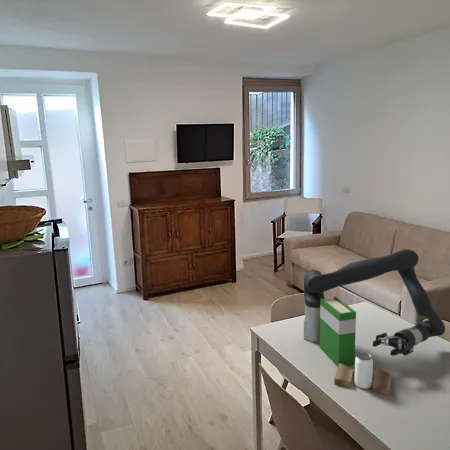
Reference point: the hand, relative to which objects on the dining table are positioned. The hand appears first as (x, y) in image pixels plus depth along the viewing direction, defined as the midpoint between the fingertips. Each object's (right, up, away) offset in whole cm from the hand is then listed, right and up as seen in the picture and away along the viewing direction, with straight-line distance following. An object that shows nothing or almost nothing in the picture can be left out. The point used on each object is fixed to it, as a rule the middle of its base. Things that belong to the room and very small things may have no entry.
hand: (382, 348), depth 162 cm
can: (-9, -13, -5) cm, 16 cm away
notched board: (-9, -12, -2) cm, 15 cm away
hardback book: (-14, -8, +17) cm, 23 cm away
